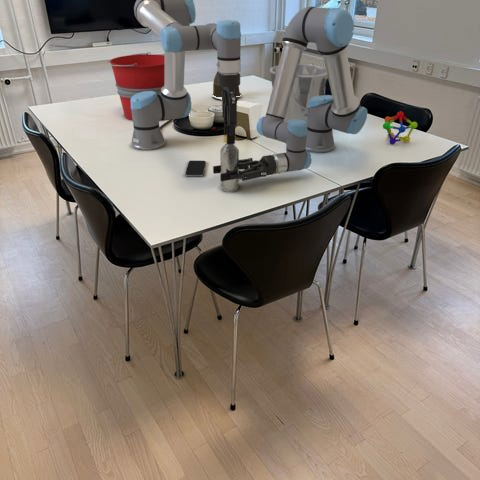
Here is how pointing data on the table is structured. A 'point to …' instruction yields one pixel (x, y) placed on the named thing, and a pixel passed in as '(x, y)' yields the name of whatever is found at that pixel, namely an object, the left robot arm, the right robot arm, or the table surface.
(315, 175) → the table surface
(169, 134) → the table surface
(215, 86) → the bell
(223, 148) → the bottle
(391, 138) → the educational toy
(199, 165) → the smartphone
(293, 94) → the bucket
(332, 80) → the right robot arm
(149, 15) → the left robot arm
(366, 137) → the table surface
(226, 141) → the cap
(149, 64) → the bucket
